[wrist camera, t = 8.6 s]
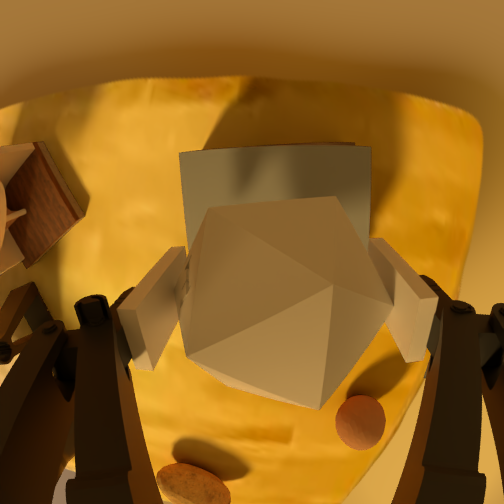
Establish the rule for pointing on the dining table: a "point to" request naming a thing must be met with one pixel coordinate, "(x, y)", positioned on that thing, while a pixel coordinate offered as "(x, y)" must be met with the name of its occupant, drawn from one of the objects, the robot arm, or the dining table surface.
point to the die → (280, 298)
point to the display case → (32, 204)
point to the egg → (360, 422)
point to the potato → (191, 485)
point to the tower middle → (276, 179)
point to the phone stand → (10, 315)
